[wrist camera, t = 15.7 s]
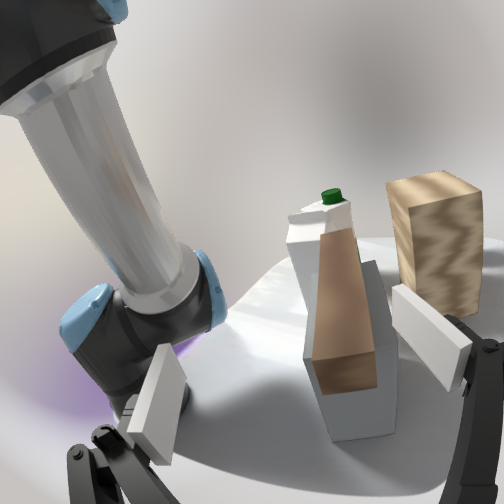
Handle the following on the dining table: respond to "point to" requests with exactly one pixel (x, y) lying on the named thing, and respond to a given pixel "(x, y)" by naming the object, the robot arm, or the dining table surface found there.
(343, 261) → the bar
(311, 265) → the milk
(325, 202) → the milk carton
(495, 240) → the dining table surface
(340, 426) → the grey block
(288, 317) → the dining table surface
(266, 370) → the dining table surface
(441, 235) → the oak block
